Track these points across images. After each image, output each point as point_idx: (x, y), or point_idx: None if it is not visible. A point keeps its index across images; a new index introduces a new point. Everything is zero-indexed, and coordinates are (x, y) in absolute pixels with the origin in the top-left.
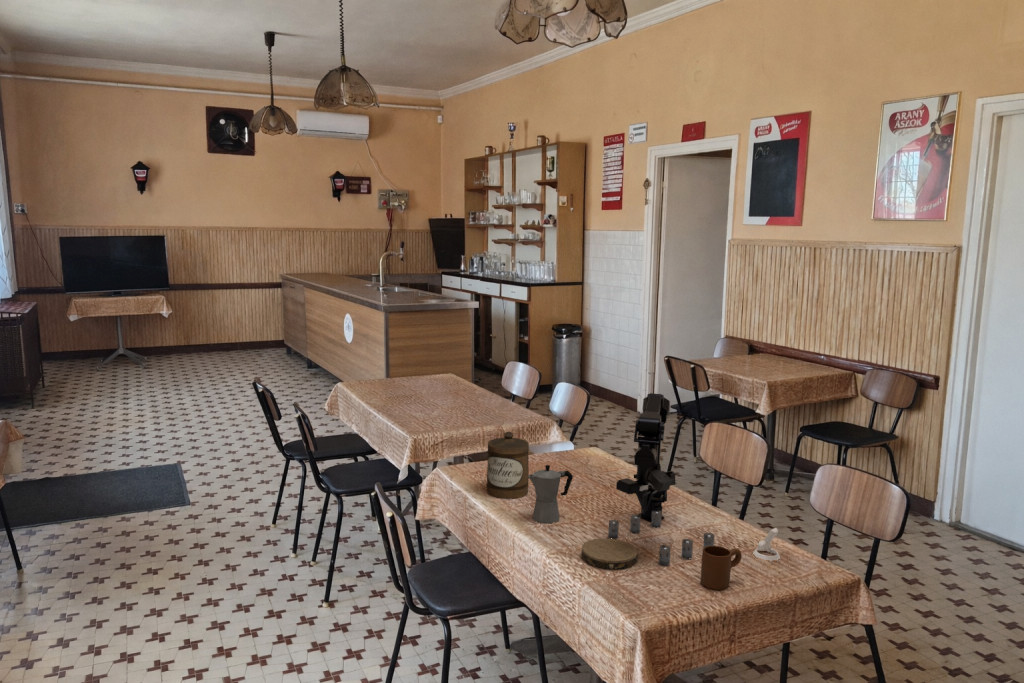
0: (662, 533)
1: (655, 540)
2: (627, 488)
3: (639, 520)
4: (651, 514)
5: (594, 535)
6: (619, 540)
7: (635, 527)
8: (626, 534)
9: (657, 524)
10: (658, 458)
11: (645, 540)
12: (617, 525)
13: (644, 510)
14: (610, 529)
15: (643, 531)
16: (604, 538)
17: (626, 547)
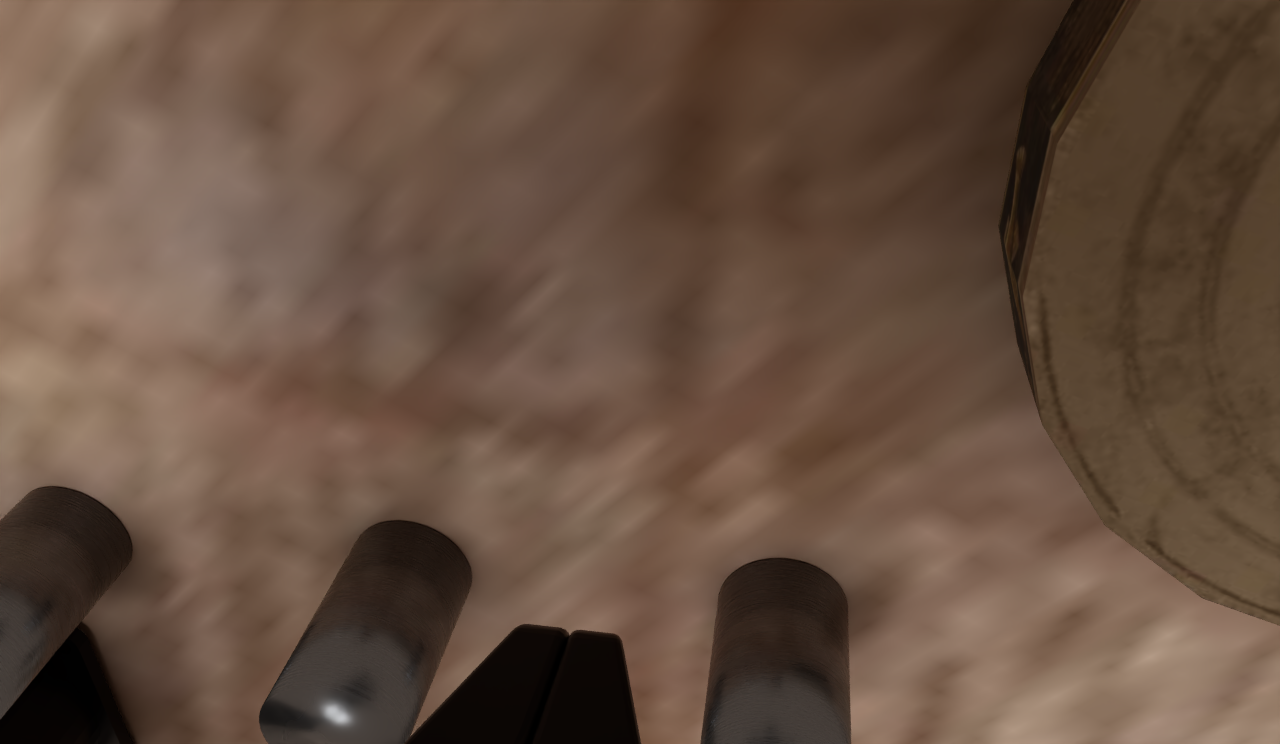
0: (101, 359)
1: (324, 256)
2: None
3: (322, 651)
4: None
5: (938, 737)
6: (1072, 415)
7: (417, 593)
8: (566, 571)
9: (55, 524)
10: None
11: (460, 331)
12: (768, 709)
13: (622, 654)
14: (849, 705)
15: (308, 518)
16: (1200, 583)
17: (1272, 135)
